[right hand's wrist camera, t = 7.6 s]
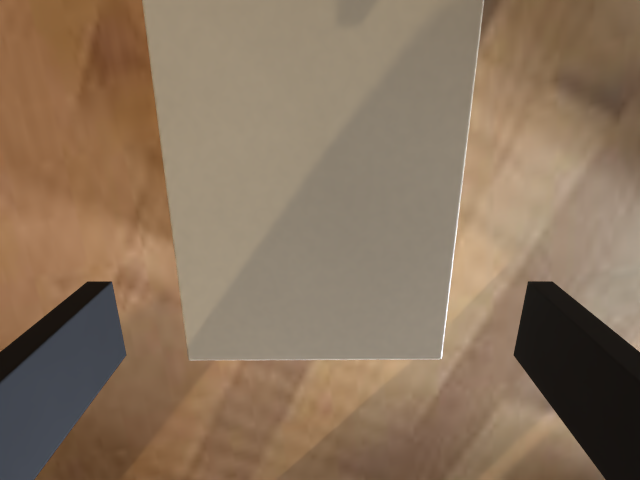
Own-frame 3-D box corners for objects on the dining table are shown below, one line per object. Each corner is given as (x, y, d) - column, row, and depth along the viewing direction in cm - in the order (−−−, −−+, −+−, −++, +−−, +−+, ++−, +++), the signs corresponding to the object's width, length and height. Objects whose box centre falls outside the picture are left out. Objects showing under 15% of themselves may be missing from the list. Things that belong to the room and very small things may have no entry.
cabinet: (206, -84, 20) (109, -244, 11) (422, -84, 20) (513, -242, 11) (233, 268, 27) (187, 361, 17) (398, 267, 27) (442, 360, 17)
